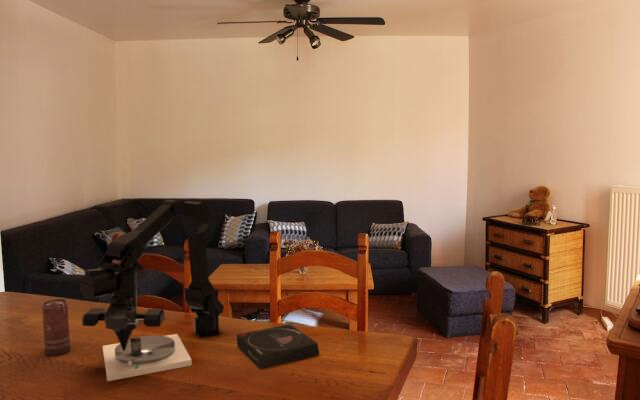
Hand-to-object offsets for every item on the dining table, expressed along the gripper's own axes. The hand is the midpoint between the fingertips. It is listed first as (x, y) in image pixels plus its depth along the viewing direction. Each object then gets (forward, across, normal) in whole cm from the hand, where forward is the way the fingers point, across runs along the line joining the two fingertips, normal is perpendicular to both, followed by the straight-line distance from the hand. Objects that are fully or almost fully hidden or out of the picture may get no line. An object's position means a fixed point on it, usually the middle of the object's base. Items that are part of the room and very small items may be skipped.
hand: (124, 350), depth 130 cm
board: (+4, +4, +5) cm, 8 cm away
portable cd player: (+4, +39, +7) cm, 39 cm away
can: (+6, -21, +12) cm, 25 cm away
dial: (+3, +4, +4) cm, 6 cm away
